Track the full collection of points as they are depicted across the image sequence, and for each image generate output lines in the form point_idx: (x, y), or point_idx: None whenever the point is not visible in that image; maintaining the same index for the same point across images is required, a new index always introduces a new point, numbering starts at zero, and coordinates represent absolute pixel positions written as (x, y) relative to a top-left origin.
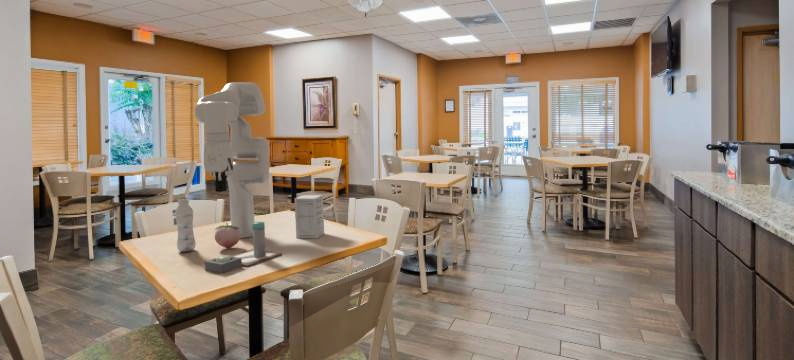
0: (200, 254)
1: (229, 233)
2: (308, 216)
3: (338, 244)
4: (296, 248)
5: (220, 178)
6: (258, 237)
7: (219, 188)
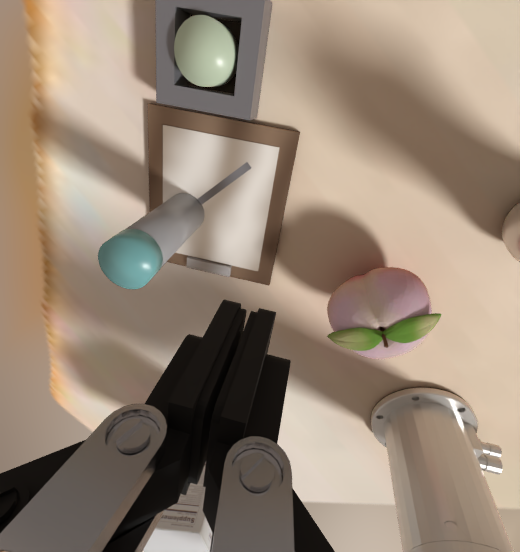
0: (441, 196)
1: (351, 297)
2: None
3: (97, 365)
4: (165, 320)
5: (99, 432)
6: (138, 220)
7: (211, 328)
